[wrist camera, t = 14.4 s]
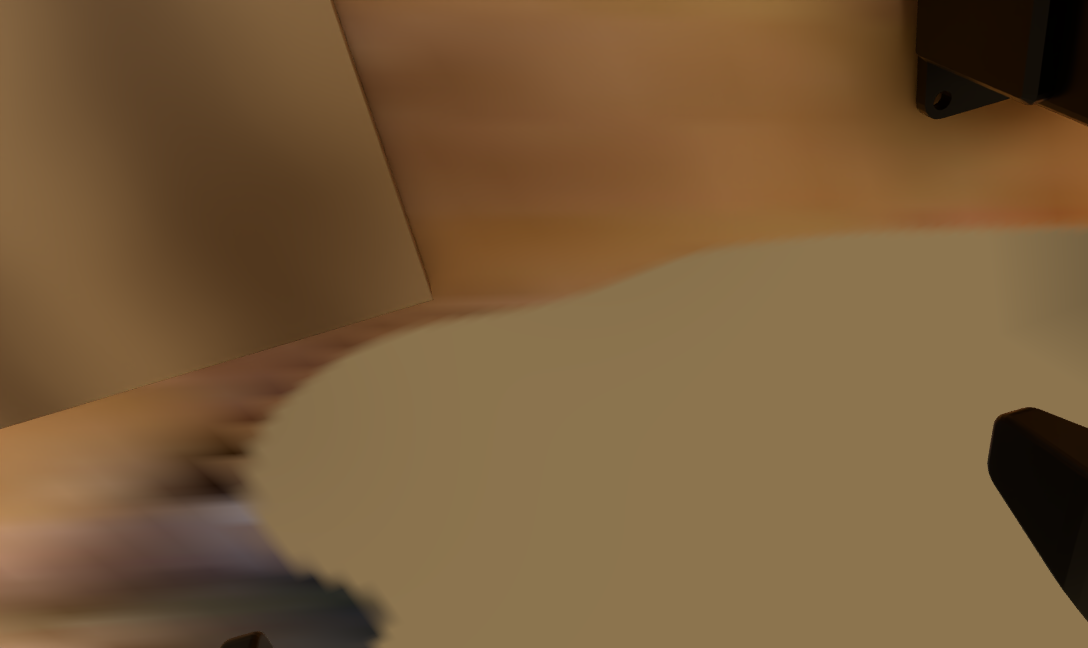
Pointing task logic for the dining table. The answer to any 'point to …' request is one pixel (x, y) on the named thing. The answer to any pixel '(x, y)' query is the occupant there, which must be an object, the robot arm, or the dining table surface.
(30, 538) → the dining table surface
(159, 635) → the dining table surface
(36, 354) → the walnut board
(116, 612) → the dining table surface
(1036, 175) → the dining table surface
